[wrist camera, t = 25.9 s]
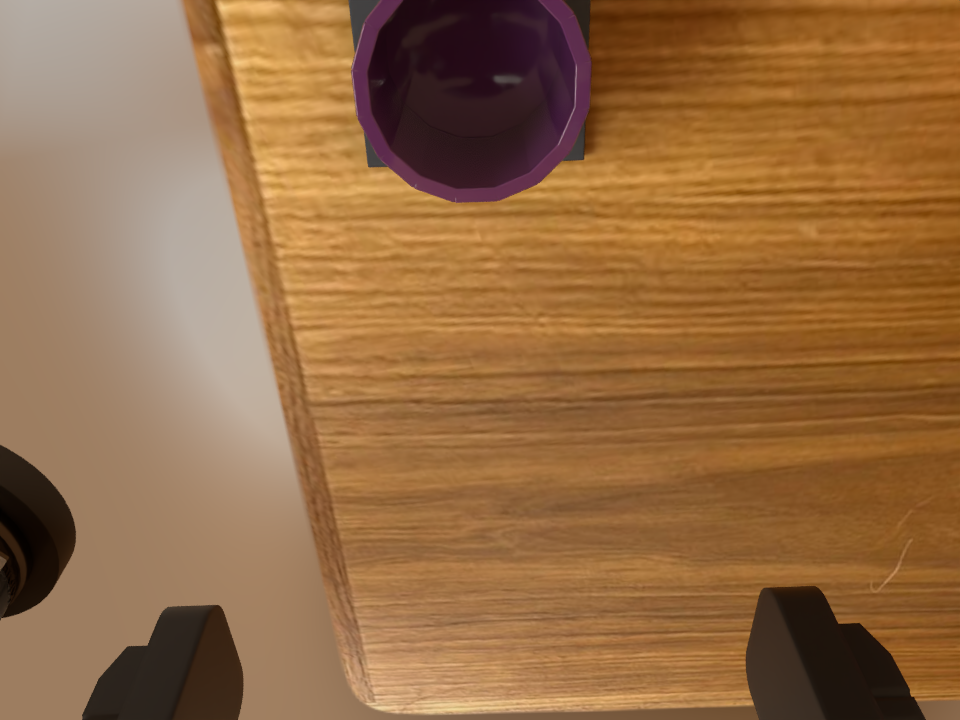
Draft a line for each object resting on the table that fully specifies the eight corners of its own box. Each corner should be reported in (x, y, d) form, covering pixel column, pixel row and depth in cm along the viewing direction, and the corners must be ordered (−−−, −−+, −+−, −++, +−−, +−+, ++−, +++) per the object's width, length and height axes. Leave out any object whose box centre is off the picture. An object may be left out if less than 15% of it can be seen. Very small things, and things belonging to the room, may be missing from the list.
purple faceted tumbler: (386, 146, 25) (367, 206, 20) (364, -60, 21) (337, -39, 17) (568, 139, 24) (586, 198, 20) (573, -68, 21) (597, -49, 17)
